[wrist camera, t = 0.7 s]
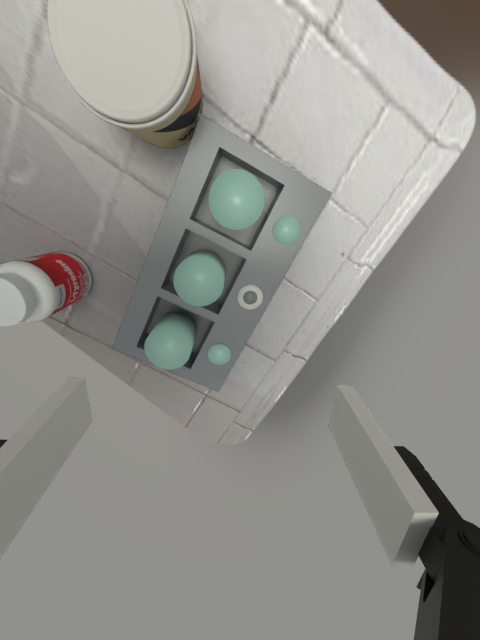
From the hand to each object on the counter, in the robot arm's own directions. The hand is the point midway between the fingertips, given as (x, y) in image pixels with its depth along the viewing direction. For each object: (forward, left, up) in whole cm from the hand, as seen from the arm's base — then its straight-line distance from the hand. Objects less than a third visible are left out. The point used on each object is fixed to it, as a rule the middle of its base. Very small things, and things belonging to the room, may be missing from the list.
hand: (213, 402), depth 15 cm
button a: (-3, -6, -19) cm, 20 cm away
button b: (-3, +2, -19) cm, 19 cm away
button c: (-3, +10, -19) cm, 21 cm away
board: (-2, +2, -23) cm, 23 cm away
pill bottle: (-18, -7, -23) cm, 30 cm away
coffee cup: (-14, +15, -23) cm, 31 cm away
